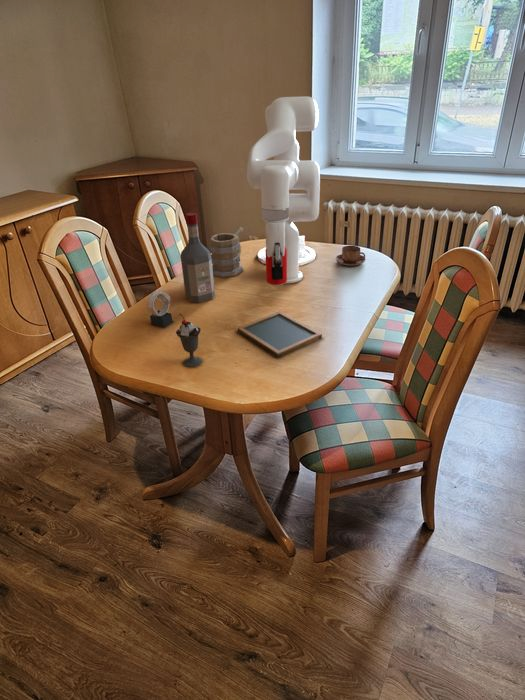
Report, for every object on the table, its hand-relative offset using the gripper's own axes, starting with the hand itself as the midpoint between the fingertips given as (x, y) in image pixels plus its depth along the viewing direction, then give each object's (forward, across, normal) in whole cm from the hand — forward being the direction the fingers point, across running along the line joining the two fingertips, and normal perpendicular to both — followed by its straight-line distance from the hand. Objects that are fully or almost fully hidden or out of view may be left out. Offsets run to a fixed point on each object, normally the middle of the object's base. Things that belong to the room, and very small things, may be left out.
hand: (276, 274), depth 136 cm
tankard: (+18, -52, -15) cm, 57 cm away
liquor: (+18, -25, -26) cm, 40 cm away
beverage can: (+3, 0, 0) cm, 3 cm away
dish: (+18, -63, +8) cm, 66 cm away
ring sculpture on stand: (+18, -7, -38) cm, 42 cm away
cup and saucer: (+18, -52, +34) cm, 64 cm away
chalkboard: (+18, +5, 0) cm, 19 cm away
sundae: (+18, +18, -25) cm, 36 cm away
